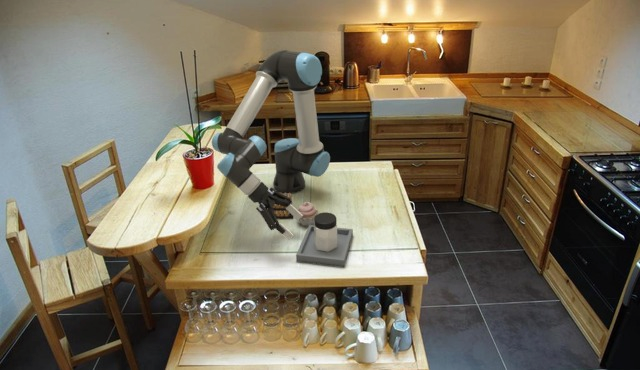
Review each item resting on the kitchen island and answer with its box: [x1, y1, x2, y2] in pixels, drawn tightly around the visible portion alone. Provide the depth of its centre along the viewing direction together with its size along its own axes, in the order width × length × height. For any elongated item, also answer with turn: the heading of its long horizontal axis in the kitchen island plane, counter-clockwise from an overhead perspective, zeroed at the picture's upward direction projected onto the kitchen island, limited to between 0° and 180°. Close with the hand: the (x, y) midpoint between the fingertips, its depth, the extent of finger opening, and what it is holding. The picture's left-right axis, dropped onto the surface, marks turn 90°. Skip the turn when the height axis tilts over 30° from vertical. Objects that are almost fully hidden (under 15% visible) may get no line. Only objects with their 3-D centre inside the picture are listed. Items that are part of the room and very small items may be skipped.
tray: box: [295, 225, 354, 268], centre depth 172 cm, size 20×17×3 cm
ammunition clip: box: [273, 193, 295, 220], centre depth 190 cm, size 11×2×12 cm, turn 87°
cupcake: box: [297, 201, 319, 228], centre depth 186 cm, size 9×9×10 cm
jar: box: [314, 211, 338, 252], centre depth 169 cm, size 9×8×12 cm
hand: (295, 227), depth 171 cm, fingers open, 13 cm apart
